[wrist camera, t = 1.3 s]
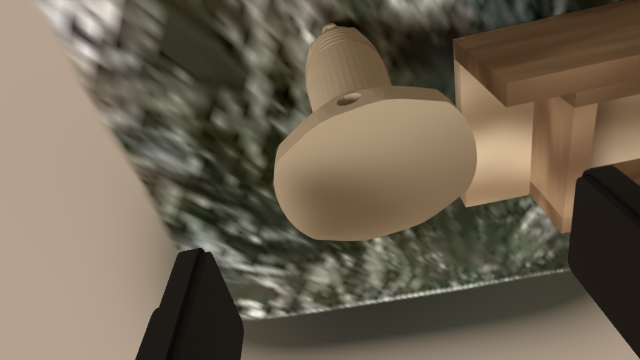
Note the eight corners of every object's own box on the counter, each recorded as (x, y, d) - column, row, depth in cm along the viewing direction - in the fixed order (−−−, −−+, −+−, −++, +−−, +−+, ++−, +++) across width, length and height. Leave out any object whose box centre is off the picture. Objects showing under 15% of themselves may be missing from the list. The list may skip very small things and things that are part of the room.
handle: (397, 66, 27) (487, 203, 15) (301, 101, 28) (307, 259, 15) (376, -12, 25) (461, 70, 12) (271, 29, 26) (249, 146, 13)
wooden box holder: (452, 39, 27) (506, 83, 20) (763, -32, 25) (934, -10, 19) (460, 197, 33) (504, 273, 26) (709, 148, 32) (823, 213, 25)
